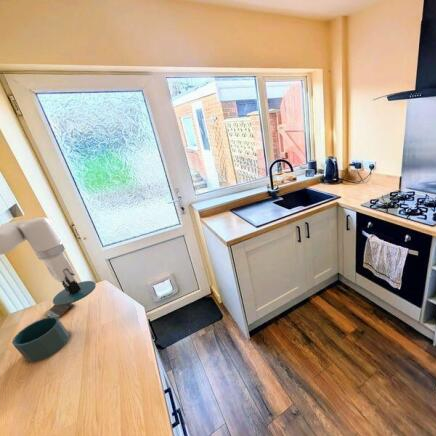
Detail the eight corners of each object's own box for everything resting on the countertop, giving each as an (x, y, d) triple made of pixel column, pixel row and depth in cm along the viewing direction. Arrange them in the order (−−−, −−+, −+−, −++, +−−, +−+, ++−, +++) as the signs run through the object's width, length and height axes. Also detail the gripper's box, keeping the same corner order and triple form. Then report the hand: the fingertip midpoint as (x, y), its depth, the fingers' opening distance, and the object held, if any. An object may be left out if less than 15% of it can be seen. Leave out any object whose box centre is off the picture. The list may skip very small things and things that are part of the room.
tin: (32, 368, 84) (18, 351, 80) (21, 353, 90) (7, 337, 86) (74, 339, 93) (64, 323, 90) (62, 327, 99) (51, 312, 96)
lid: (62, 311, 89) (53, 297, 86) (48, 300, 95) (39, 286, 92) (102, 288, 99) (95, 275, 96) (87, 279, 105) (80, 267, 103)
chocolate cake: (39, 316, 108) (35, 308, 100) (53, 302, 113) (51, 293, 105) (62, 325, 110) (60, 318, 102) (75, 310, 115) (74, 302, 107)
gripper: (29, 251, 90) (54, 290, 97) (45, 261, 82) (71, 303, 89) (54, 241, 96) (76, 279, 103) (72, 250, 87) (94, 290, 95)
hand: (73, 290), depth 96 cm, fingers closed on lid, 3 cm apart
